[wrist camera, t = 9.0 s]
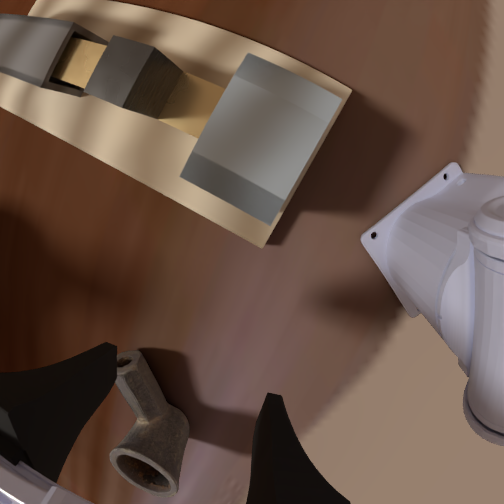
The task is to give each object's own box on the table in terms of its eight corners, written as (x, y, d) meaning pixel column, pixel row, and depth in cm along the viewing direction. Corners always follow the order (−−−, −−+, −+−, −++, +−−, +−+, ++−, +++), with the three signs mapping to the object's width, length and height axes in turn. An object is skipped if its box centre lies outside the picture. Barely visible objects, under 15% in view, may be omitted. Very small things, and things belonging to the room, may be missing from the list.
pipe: (163, 342, 25) (122, 402, 17) (209, 442, 28) (191, 502, 20) (107, 347, 26) (61, 398, 18) (158, 441, 29) (134, 494, 21)
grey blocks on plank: (349, 94, 18) (373, 65, 12) (263, 244, 22) (254, 275, 15) (47, -2, 17) (8, -22, 11) (-4, 101, 21) (-48, 97, 14)
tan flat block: (280, 123, 17) (277, 97, 11) (256, 166, 18) (239, 164, 11) (60, 39, 17) (3, 17, 10) (44, 72, 18) (-16, 57, 11)
